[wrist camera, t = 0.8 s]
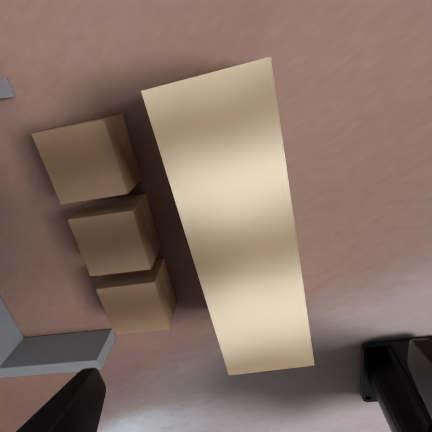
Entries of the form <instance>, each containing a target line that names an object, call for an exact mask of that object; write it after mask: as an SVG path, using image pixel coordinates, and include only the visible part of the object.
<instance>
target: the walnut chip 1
mask: <svg viewBox="0 0 432 432" xmlns="http://www.w3.org/2000/svg"><path fill="white" fill-rule="evenodd" d="M31 135H32V137H33V139H34V142H35V144H36V147H37V149H38V151H39V154H40V156H41V158H42V161H43V163H44V166H45V168H46V170H47V173H48V175H49V177H50V180H51V182H52V184H53V187H54V189H55V192H56V194H57V196H58V199H59V201H60V203H61V205H62V204H68V203H74V202H80V201H86V200H93V199H99V198H105V197H111V196H117V195H123V194H128V193H129V192H130V191H131V190H132V189H133V188H134V187H135V185H136V184H137V183H138V182H139V181H140V180H141V179H142V177H141V174H140V171H139V167H138V164H137V160H136V157H135V153H134V150H133V147H132V143H131V140H130V136H129V133H128V130H127V126H126V123H125V119H124V116H123V114H120V115H115V116H110V117H105V118H100V119H95V120H90V121H85V122H80V123H74V124H69V125H64V126H59V127H55V128H51V129H47V130H43V131H39V132H35V133H31Z"/></svg>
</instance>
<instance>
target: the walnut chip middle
mask: <svg viewBox="0 0 432 432" xmlns="http://www.w3.org/2000/svg"><path fill="white" fill-rule="evenodd" d="M68 223H69V225H70V228H71V230H72V232H73V235H74V237H75V240H76V242H77V245H78V247H79V250H80V252H81V255H82V257H83V259H84V262H85V264H86V267H87V269H88V272H89V274H90V276H99V275H107V274H116V273H124V272H133V271H141V270H150V269H151V268H152V266H153V263H154V261H155V259H156V257H157V254H158V252H159V250H160V247H161V245H160V241H159V238H158V234H157V230H156V227H155V223H154V220H153V216H152V213H151V209H150V205H149V202H148V198H147V195H146V194H141V195H134V196H127V197H120V198H114V199H107V200H100V201H93V202H89V203H87V204H86V205H85V206H84V207H82V208H81V209H80V210H79V211H78V212H76V213H75V214H74V215H73V216H72V217H70V218H69V219H68Z"/></svg>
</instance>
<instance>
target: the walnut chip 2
mask: <svg viewBox="0 0 432 432" xmlns="http://www.w3.org/2000/svg"><path fill="white" fill-rule="evenodd" d="M96 291H97V293H98V296H99V298H100V300H101V303H102V305H103V308H104V310H105V312H106V315H107V317H108V319H109V322H110V324H111V327H112V329H113V331H114V334H115V335H122V334H132V333H142V332H152V331H162V330H170V328H171V324H172V320H173V316H174V312H175V308H176V305H177V299H176V296H175V293H174V289H173V286H172V282H171V279H170V276H169V272H168V269H167V265H166V262H165V259H164V258H161V259H155V261H154V263H153V266H152V268H151V269H150V270H141V271H133V272H124V273H116V274H107V275H105V276H104V278H103V279H102V281H101V282H100V284H99V285H98V287H97V288H96Z"/></svg>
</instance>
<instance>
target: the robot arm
mask: <svg viewBox="0 0 432 432" xmlns="http://www.w3.org/2000/svg"><path fill="white" fill-rule="evenodd" d="M105 394H106V386H105V383H104V381H103V379H102V377H101V375H100V373H99V371H98V369H97V368H85V369H82V370H81V371H80V372H78V373H77V374H76V375H75V376H74V377H73V378H72V379H71V380H70V381H69V382H68V383H67V384H66V385H65V386H64V387H63V388H62V389H61V390H59V391H58V392H57V393H56V394H55V395H54V396H53V397H52V398H51V399H50V400H49V401H48V402H47V403H46V404H45V405H44V406H43V407H42V408H40V409H39V410H38V411H37V412H36V413H35V414H34V415H33V416H32V417H31V418H30V419H29V420H28V421H27V422H26V423H25V424H24V425H23V426H21V427H20V428H19V429H18V430H17V431H16V432H97V429H98V424H99V420H100V416H101V411H102V407H103V403H104V399H105ZM360 394H361V397H362V399H363V401H365V402H375V401H378V403H379V405H380V407H381V409H382V412H383V414H384V416H385V418H386V420H387V422H388V425H389V427H390V429H391V431H392V432H432V338H420V339H408V340H396V341H384V342H372V343H366V344H364V345H363V346H362V355H361V391H360Z"/></svg>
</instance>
